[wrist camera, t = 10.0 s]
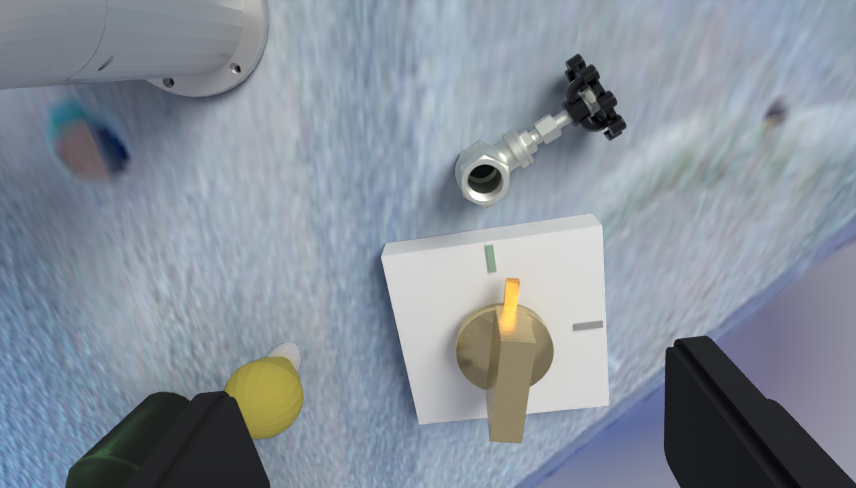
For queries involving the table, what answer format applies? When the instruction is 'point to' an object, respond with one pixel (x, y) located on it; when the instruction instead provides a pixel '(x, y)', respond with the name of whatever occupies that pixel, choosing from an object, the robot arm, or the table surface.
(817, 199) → the table surface
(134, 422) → the potion bottle
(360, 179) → the table surface
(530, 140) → the valve
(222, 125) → the table surface
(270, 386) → the light bulb
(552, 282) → the base plate
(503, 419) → the knob
